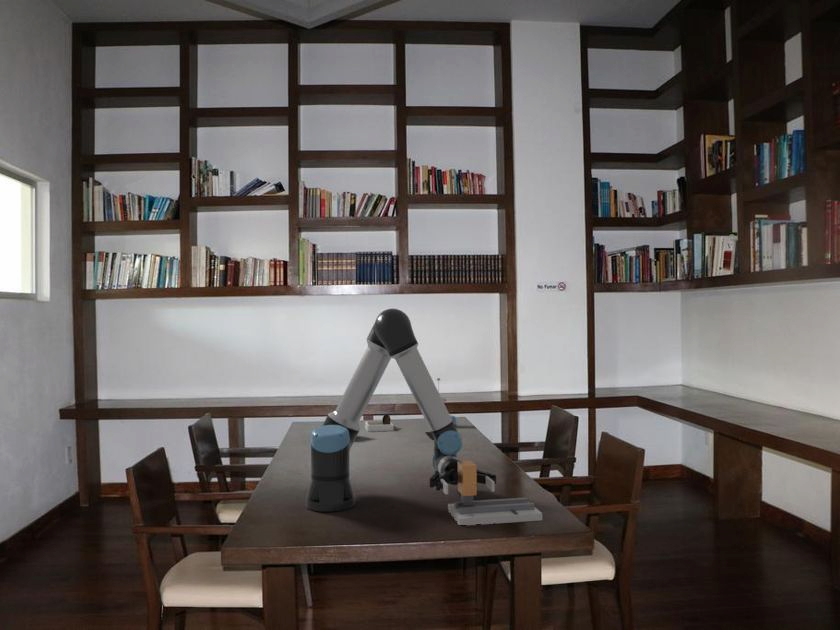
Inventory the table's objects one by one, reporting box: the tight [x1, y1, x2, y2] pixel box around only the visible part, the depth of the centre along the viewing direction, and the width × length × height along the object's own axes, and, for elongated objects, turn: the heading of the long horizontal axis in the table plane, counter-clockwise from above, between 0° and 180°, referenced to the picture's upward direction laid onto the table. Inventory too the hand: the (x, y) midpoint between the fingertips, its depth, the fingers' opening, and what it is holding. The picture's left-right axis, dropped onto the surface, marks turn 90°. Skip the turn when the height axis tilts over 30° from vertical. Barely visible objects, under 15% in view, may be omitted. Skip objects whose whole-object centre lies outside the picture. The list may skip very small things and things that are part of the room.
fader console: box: [447, 497, 543, 526], centre depth 187 cm, size 24×14×4 cm, turn 100°
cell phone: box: [424, 431, 434, 441], centre depth 307 cm, size 9×18×1 cm, turn 11°
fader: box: [457, 460, 478, 507], centre depth 186 cm, size 4×6×13 cm
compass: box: [381, 413, 392, 425], centre depth 326 cm, size 8×8×7 cm
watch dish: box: [364, 420, 395, 433], centre depth 327 cm, size 13×13×3 cm
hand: (470, 488), depth 183 cm, fingers open, 13 cm apart
